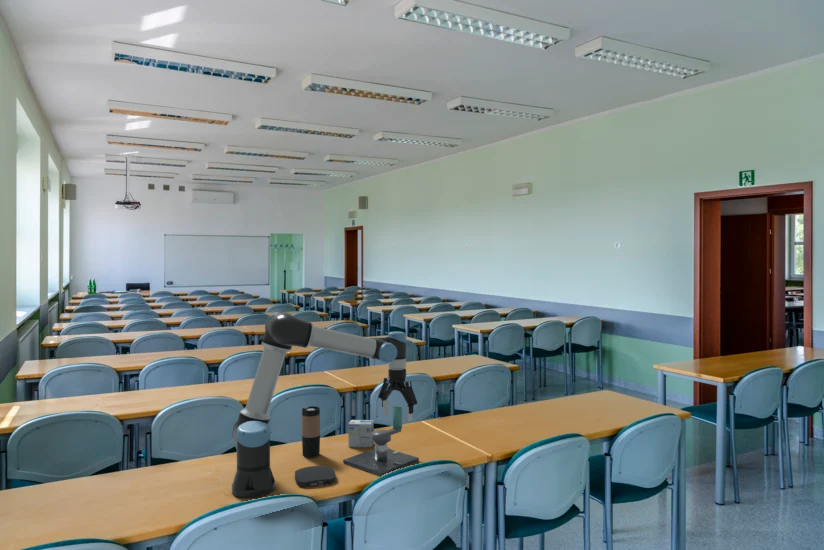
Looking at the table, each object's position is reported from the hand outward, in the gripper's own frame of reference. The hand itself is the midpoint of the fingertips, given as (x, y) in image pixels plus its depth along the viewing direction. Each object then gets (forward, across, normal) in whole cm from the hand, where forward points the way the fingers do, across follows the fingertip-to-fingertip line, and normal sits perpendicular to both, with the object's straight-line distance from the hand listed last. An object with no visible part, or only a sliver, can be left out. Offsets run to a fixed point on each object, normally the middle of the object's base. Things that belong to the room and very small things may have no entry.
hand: (397, 418), depth 237 cm
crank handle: (+7, 0, +6) cm, 9 cm away
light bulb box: (+16, +22, 0) cm, 28 cm away
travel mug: (+16, +29, +23) cm, 40 cm away
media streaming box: (+17, +7, +39) cm, 43 cm away
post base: (+16, 0, +10) cm, 19 cm away
